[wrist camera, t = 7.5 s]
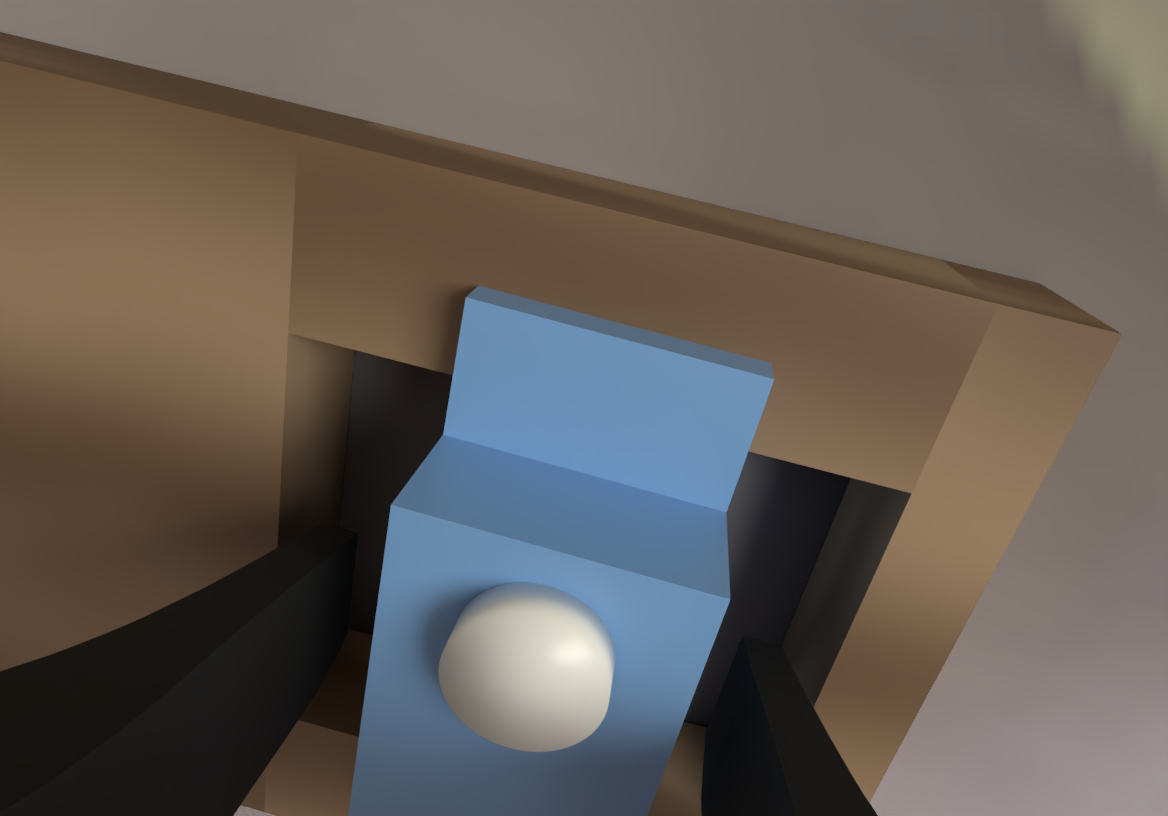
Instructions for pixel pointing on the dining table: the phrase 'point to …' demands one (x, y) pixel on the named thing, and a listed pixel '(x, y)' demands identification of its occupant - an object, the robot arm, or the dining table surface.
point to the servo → (554, 568)
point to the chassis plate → (430, 339)
